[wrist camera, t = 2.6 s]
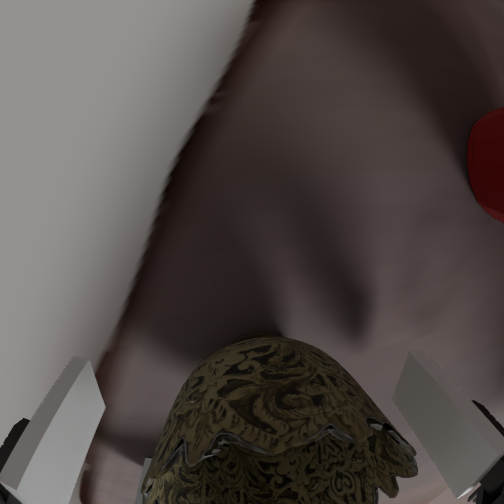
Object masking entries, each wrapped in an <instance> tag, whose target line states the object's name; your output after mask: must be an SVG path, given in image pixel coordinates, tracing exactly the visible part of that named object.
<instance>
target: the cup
mask: <svg viewBox="0 0 504 504" xmlns="http://www.w3.org/2000/svg"><path fill="white" fill-rule="evenodd" d="M415 455H416V451H415V449H414V448H413V447H412V446H411V445H410V444H409V443H408V442H407V441H406V440H405V439H404V438H403V437H402V436H401V435H400V434H399V432H398V431H397V430H396V429H395V428H394V426H393V425H392V424H391V423H390V421H389V420H388V419H387V418H386V417H385V415H384V414H383V413H382V412H381V410H380V409H379V408H378V407H377V406H376V404H375V403H374V402H373V401H372V400H371V398H370V397H369V396H368V395H367V394H366V392H365V391H364V390H363V389H362V388H361V386H360V385H359V384H358V383H357V382H356V380H355V379H354V378H353V377H352V376H351V375H350V374H349V373H348V372H347V371H346V370H345V369H344V368H343V367H342V366H341V365H340V364H339V363H338V362H337V361H335V360H334V359H333V358H332V357H330V356H329V355H328V354H326V353H325V352H323V351H322V350H320V349H318V348H316V347H314V346H312V345H309V344H307V343H304V342H301V341H298V340H294V339H289V338H282V337H280V336H277V335H275V334H271V333H263V332H260V333H251V334H247V335H244V336H242V337H240V338H238V339H236V340H235V341H233V342H232V343H231V344H230V345H228V346H226V347H224V348H222V349H220V350H218V351H216V352H215V353H213V354H212V355H210V356H209V357H208V358H207V359H205V360H204V361H203V362H202V363H201V364H200V365H198V366H197V368H196V369H195V370H194V371H193V372H192V373H191V375H190V376H189V378H188V379H187V380H186V382H185V383H184V385H183V386H182V388H181V390H180V392H179V394H178V396H177V398H176V400H175V402H174V404H173V407H172V409H171V411H170V413H169V416H168V418H167V421H166V423H165V426H164V428H163V431H162V433H161V436H160V439H159V441H158V444H157V447H156V449H155V452H154V455H153V457H152V460H151V463H150V466H149V468H148V471H147V473H146V475H145V478H144V480H143V483H142V487H141V494H142V495H143V500H142V504H378V497H379V495H378V488H379V489H381V490H382V491H383V492H384V493H385V494H386V495H387V496H389V498H395V497H396V496H397V494H398V492H399V487H398V484H397V481H396V478H395V477H396V476H399V477H401V478H411V477H415V476H417V475H418V468H417V463H416V461H415V458H414V456H415ZM377 487H378V488H377Z"/></svg>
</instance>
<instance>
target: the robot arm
mask: <svg viewBox="0 0 504 504" xmlns="http://www.w3.org/2000/svg"><path fill="white" fill-rule="evenodd" d="M392 400H393V401H394V403H395V404H396V406H397V407H398V408H399V410H400V411H401V413H402V414H403V416H404V417H405V419H406V420H407V422H408V423H409V425H410V426H411V428H412V429H413V431H414V432H415V434H416V435H417V437H418V438H419V440H420V442H421V443H422V445H423V446H424V448H425V449H426V451H427V452H428V454H429V455H430V457H431V458H432V460H433V462H434V463H435V465H436V466H437V468H438V469H439V471H440V473H441V474H442V476H443V477H444V479H445V481H446V482H447V484H448V485H449V487H450V489H451V490H452V492H453V493H454V495H455V497H456V498H457V499H458V498H459V497H461V496H463V495H464V494H466V493H468V492H469V491H470V490H472V489H473V488H474V487H475V486H476V485H477V484H478V483H479V482H480V483H481V486H480V487H479V488H478V489H477V490H476V491H474V492H473V493H472V494H471V496H470V497H469V499H468V502H470V501H471V500H472V499H473V498H474V497H475V496H476V495H477V497H476V498H475V499H474V500H473V502H476V504H504V428H503V427H502V425H501V424H500V423H499V422H498V421H496V420H495V418H494V417H493V416H492V415H490V412H489V411H488V410H487V409H486V408H485V407H484V406H483V405H481V404H480V403H478V402H476V401H475V400H473V401H471V400H470V399H469V398H468V397H467V396H466V395H465V394H464V392H463V391H462V390H461V389H460V388H459V387H458V386H457V385H456V384H455V383H454V382H453V381H452V380H451V379H450V378H449V377H448V376H447V375H446V374H445V373H444V372H443V371H442V370H441V368H440V367H439V366H438V365H437V364H436V363H435V362H434V361H433V360H432V359H431V358H430V357H429V356H428V355H427V354H426V353H425V352H424V351H423V350H418V351H413V352H409V354H408V357H407V360H406V362H405V365H404V368H403V371H402V374H401V376H400V379H399V382H398V384H397V387H396V389H395V392H394V394H393V397H392ZM105 408H106V407H105V405H104V402H103V399H102V396H101V394H100V391H99V388H98V385H97V382H96V379H95V376H94V373H93V369H92V366H91V363H90V360H89V359H88V358H82V357H75V356H74V357H73V358H72V359H71V361H70V362H69V363H68V365H67V366H66V368H65V369H64V370H63V372H62V373H61V375H60V376H59V378H58V379H57V380H56V382H55V383H54V385H53V386H52V388H51V389H50V391H49V392H48V394H47V395H46V397H45V398H44V400H43V402H42V403H41V405H40V406H39V408H38V409H37V411H36V413H35V414H34V416H33V417H32V419H31V420H28V419H25V418H23V419H22V420H20V421H19V422H18V423H17V424H15V425H14V426H13V428H12V430H11V431H10V433H9V434H8V437H7V438H6V439H5V441H4V445H2V446H1V448H0V504H69V501H70V498H71V495H72V492H73V489H74V487H75V484H76V481H77V478H78V475H79V473H80V470H81V467H82V464H83V462H84V459H85V457H86V454H87V451H88V449H89V446H90V444H91V441H92V439H93V436H94V434H95V431H96V429H97V426H98V424H99V422H100V419H101V417H102V415H103V412H104V410H105Z"/></svg>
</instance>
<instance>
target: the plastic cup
mask: <svg viewBox="0 0 504 504" xmlns="http://www.w3.org/2000/svg"><path fill="white" fill-rule="evenodd" d="M467 166H468V172H469V179H470V184H471V187H472V189H473V192H474V195H475V197H476V200H477V202H478V203H479V204H480V205H481V207H482V208H483V209H484V210H485V212H487V213H489V214H491V216H492V217H493V218H495V219H497V220H499V221H500V222H502V223H504V107H502V108H499V109H497V110H494V111H491V112H489V113H487V114H486V115H485V116H484V117H481V118H480V119H479V120H478V121H477V122H476V123H475V124H474V125H473V127H472V130H471V133H470V136H469V139H468V149H467Z"/></svg>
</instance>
